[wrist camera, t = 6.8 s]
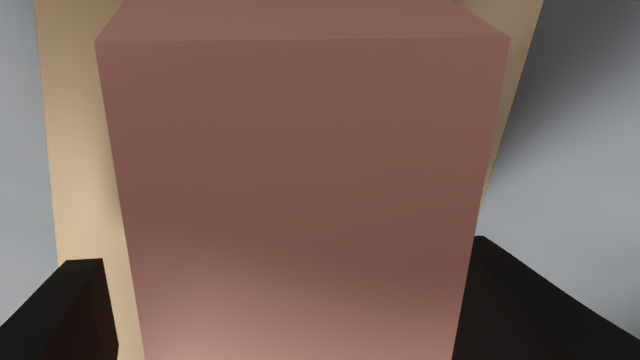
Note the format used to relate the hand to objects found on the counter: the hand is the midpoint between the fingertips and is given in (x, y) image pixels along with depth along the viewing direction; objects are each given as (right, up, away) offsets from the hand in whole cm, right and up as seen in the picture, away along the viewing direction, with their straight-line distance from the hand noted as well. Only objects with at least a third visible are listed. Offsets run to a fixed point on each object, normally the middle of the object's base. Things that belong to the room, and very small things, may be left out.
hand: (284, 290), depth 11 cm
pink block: (0, +1, +2) cm, 2 cm away
